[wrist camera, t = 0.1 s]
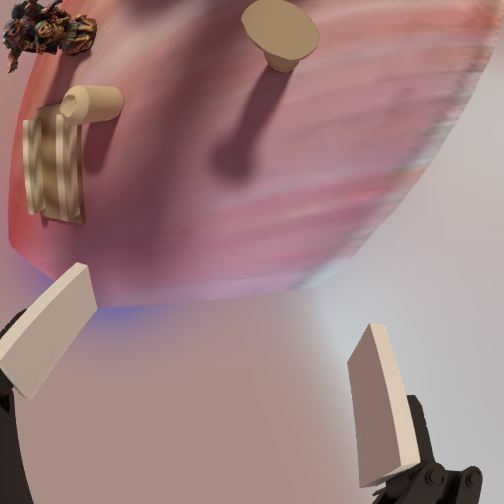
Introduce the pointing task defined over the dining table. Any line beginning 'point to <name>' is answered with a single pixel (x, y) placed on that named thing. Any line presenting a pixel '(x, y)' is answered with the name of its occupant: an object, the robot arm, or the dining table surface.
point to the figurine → (46, 31)
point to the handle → (280, 32)
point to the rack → (53, 166)
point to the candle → (91, 104)
